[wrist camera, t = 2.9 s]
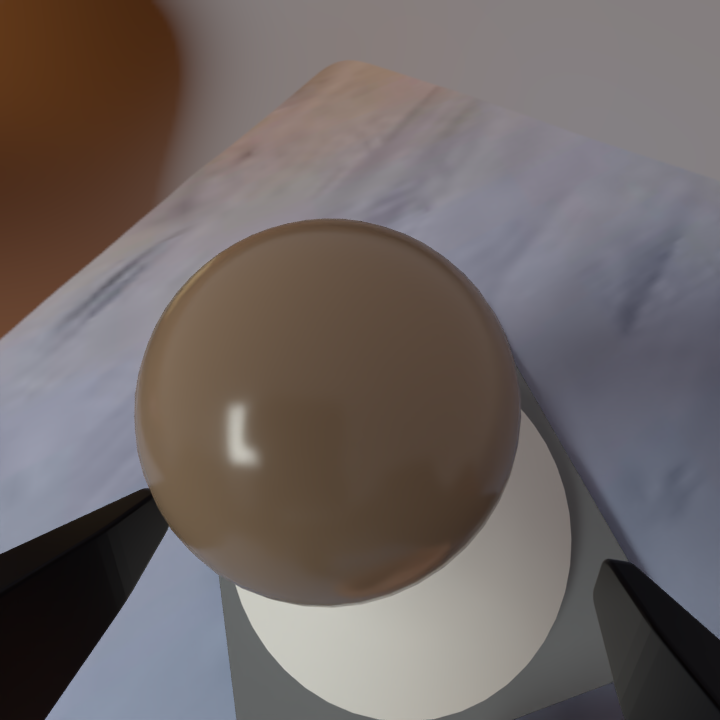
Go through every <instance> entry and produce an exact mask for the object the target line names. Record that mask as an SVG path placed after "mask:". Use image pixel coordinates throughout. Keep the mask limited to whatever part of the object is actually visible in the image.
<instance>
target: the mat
mask: <svg viewBox="0 0 720 720" xmlns="http://www.w3.org/2000/svg"><path fill="white" fill-rule="evenodd" d="M515 366H516V365H515ZM516 370H517V376H518V381H519V387H520V394H521V410H522V411H523V412H524V413H525V414H526V416H527V417H528V418H529V419H530V421H531V422H532V423H533V424H534V426H535V427H536V429H537V430H538V432H539V434H540V435H541V437H542V438H543V440H544V441H545V443H546V445H547V447H548V449H549V451H550V453H551V455H552V457H553V459H554V461H555V464H556V466H557V469H558V472H559V475H560V477H561V480H562V483H563V486H564V489H565V494H566V499H567V504H568V509H569V514H570V527H571V558H570V569H569V574H568V579H567V585H566V590H565V594H564V597H563V600H562V603H561V606H560V609H559V611H558V614H557V617H556V620H555V621H554V623H553V625H552V627H551V629H550V631H549V633H548V635H547V637H546V639H545V641H544V643H543V644H542V645H541V647H540V648H539V650H538V651H537V652H536V654H535V655H534V656H533V658H532V659H531V661H530V662H529V663H528V665H527V666H526V667H525V668H524V669H523V670H522V671H521V672H520V673H519V674H518V675H517V676H516V677H515V678H514V679H512V680H511V681H510V682H509V683H508V684H507V685H506V686H504V687H503V688H502V689H500V690H499V691H497V692H496V693H495V694H493V695H492V696H490V697H489V698H487V699H486V700H484V701H482V702H480V703H478V704H476V705H474V706H472V707H470V708H467V709H465V710H463V711H461V712H458V713H454V714H451V715H447V716H443V717H440V718H436V719H430V720H514V719H516V718H519V717H522V716H524V715H527V714H530V713H532V712H535V711H538V710H540V709H543V708H546V707H548V706H551V705H553V704H556V703H559V702H561V701H564V700H567V699H569V698H572V697H575V696H577V695H580V694H583V693H585V692H588V691H591V690H593V689H596V688H599V687H601V686H604V685H607V684H609V683H612V682H614V681H613V677H612V674H611V670H610V666H609V662H608V658H607V654H606V650H605V646H604V642H603V638H602V634H601V630H600V626H599V623H598V619H597V615H596V611H595V607H594V602H593V589H594V586H595V583H596V580H597V576H598V573H599V570H600V567H601V564H602V562H603V561H604V560H605V559H615V560H622V561H628V560H627V558H626V556H625V554H624V553H623V551H622V549H621V547H620V546H619V544H618V542H617V540H616V539H615V537H614V535H613V533H612V532H611V530H610V528H609V526H608V525H607V523H606V521H605V519H604V518H603V516H602V514H601V512H600V511H599V509H598V507H597V506H596V504H595V502H594V500H593V499H592V497H591V495H590V493H589V492H588V490H587V488H586V486H585V485H584V483H583V481H582V479H581V478H580V476H579V474H578V472H577V471H576V469H575V467H574V465H573V464H572V462H571V460H570V459H569V457H568V455H567V453H566V452H565V450H564V448H563V446H562V445H561V443H560V441H559V439H558V438H557V436H556V434H555V432H554V431H553V429H552V427H551V425H550V424H549V422H548V420H547V418H546V417H545V415H544V413H543V412H542V410H541V408H540V406H539V405H538V403H537V401H536V399H535V398H534V396H533V394H532V392H531V391H530V389H529V387H528V385H527V384H526V382H525V380H524V378H523V377H522V375H521V373H520V371H519V370H518V368H517V366H516ZM628 562H629V561H628ZM219 581H220V589H221V597H222V605H223V613H224V621H225V629H226V637H227V646H228V654H229V662H230V670H231V678H232V686H233V694H234V702H235V710H236V718H237V720H379V719H375V718H371V717H367V716H363V715H359V714H355V713H352V712H349V711H347V710H345V709H343V708H340V707H338V706H336V705H333V704H331V703H329V702H327V701H325V700H324V699H322V698H321V697H319V696H317V695H316V694H314V693H313V692H311V691H309V690H308V689H306V688H305V687H304V686H303V685H301V684H300V683H299V682H298V681H297V680H296V679H294V678H293V677H292V676H291V675H290V674H289V673H288V672H286V671H285V670H284V669H283V668H282V666H281V665H280V664H279V663H278V662H277V661H276V659H275V658H274V657H273V656H272V655H271V654H270V652H269V651H268V650H267V649H266V647H265V646H264V644H263V643H262V641H261V639H260V638H259V636H258V635H257V633H256V632H255V630H254V629H253V627H252V625H251V623H250V621H249V619H248V616H247V614H246V612H245V610H244V608H243V606H242V603H241V600H240V597H239V594H238V591H237V588H236V585H235V584H233V583H232V582H230V581H228V580H226V579H225V578H223V577H221V576H220V575H219Z"/></svg>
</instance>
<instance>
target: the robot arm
mask: <svg viewBox="0 0 720 720" xmlns="http://www.w3.org/2000/svg"><path fill="white" fill-rule="evenodd" d="M168 527H169V525H168V523H167V522H166V520H165V519H164V517H163V515H162V514H161V512H160V511H159V509H158V507H157V505H156V503H155V500H154V498H153V496H152V493H151V491H150V489H149V488H144V489H141V490H139V491H137V492H134V493H132V494H130V495H128V496H126V497H123V498H121V499H119V500H117V501H115V502H113V503H110V504H108V505H106V506H104V507H102V508H100V509H97V510H95V511H93V512H91V513H89V514H87V515H84V516H82V517H80V518H78V519H76V520H74V521H71V522H69V523H67V524H65V525H63V526H61V527H58V528H56V529H54V530H52V531H50V532H48V533H45V534H43V535H41V536H39V537H37V538H34V539H32V540H30V541H28V542H26V543H24V544H21V545H19V546H17V547H15V548H13V549H11V550H8V551H6V552H4V553H2V554H0V720H45V719H46V717H47V716H48V714H49V713H50V711H51V710H52V708H53V707H54V705H55V704H56V703H57V701H58V700H59V698H60V697H61V695H62V694H63V692H64V691H65V690H66V688H67V687H68V685H69V684H70V682H71V681H72V679H73V678H74V676H75V675H76V674H77V672H78V671H79V669H80V668H81V666H82V665H83V663H84V662H85V661H86V659H87V658H88V656H89V655H90V653H91V652H92V650H93V649H94V647H95V646H96V645H97V643H98V642H99V640H100V639H101V637H102V636H103V634H104V633H105V631H106V630H107V629H108V627H109V626H110V624H111V623H112V621H113V620H114V618H115V617H116V616H117V614H118V613H119V611H120V610H121V608H122V607H123V605H124V604H125V602H126V601H127V599H128V597H129V596H130V594H131V592H132V591H133V589H134V587H135V586H136V584H137V582H138V580H139V579H140V577H141V575H142V574H143V572H144V570H145V568H146V567H147V565H148V563H149V561H150V560H151V558H152V556H153V554H154V553H155V551H156V549H157V547H158V546H159V544H160V542H161V540H162V539H163V537H164V535H165V533H166V532H167V530H168ZM593 602H594V607H595V611H596V615H597V619H598V623H599V626H600V630H601V634H602V638H603V642H604V646H605V650H606V654H607V658H608V662H609V666H610V670H611V674H612V677H613V681H614V685H615V689H616V693H617V696H618V700H619V703H620V706H621V710H622V713H623V716H624V719H625V720H720V640H719V639H718V638H717V637H716V636H715V635H714V634H713V633H711V632H710V631H709V630H708V629H707V628H706V627H705V626H703V625H702V624H701V623H700V622H699V621H698V620H697V619H695V618H694V617H693V616H692V615H691V614H690V613H689V612H688V611H686V610H685V609H684V608H683V607H682V606H681V605H680V604H678V603H677V602H676V601H675V600H674V599H673V598H672V597H670V596H669V595H668V594H667V593H666V592H665V591H664V590H662V589H661V588H660V587H659V586H658V585H657V584H656V583H654V582H653V581H652V580H651V579H650V578H649V577H648V576H646V575H645V574H644V573H643V572H642V571H641V570H640V569H639V568H637V567H636V566H635V565H634V564H632V563H630V562H628V561H622V560H615V559H605V560H604V561H603V562H602V564H601V567H600V570H599V573H598V576H597V580H596V583H595V586H594V589H593Z"/></svg>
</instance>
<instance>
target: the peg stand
mask: <svg viewBox="0 0 720 720" xmlns="http://www.w3.org/2000/svg"><path fill="white" fill-rule="evenodd" d="M134 418H135V434H136V443H137V452H138V456H139V459H140V463H141V467H142V471H143V475H144V477H145V479H146V482H147V484H148V486H149V489H150V491H151V493H152V496H153V498H154V500H155V503H156V505H157V507H158V509H159V511H160V512H161V514H162V515H163V517H164V519H165V520H166V522H167V523H168V525H169V527H170V528H171V530H172V531H173V532H174V533H175V534H176V535H177V537H178V538H179V539H180V540H181V541H182V542H183V543H184V545H185V546H186V547H187V548H188V549H189V550H190V551H191V552H192V553H193V554H194V555H195V556H196V557H197V558H198V559H200V560H201V561H202V562H203V563H204V564H206V565H207V566H208V567H209V568H211V569H212V570H213V571H214V572H215V573H217V574H218V575H220V576H221V577H223V578H225V579H226V580H228V581H230V582H232V583H233V584H235V585H236V588H237V591H238V594H239V597H240V600H241V603H242V606H243V608H244V610H245V612H246V614H247V616H248V619H249V621H250V623H251V625H252V627H253V629H254V630H255V632H256V633H257V635H258V636H259V638H260V639H261V641H262V643H263V644H264V646H265V647H266V649H267V650H268V651H269V652H270V654H271V655H272V656H273V657H274V658H275V659H276V661H277V662H278V663H279V664H280V665H281V666H282V668H283V669H284V670H285V671H286V672H288V673H289V674H290V675H291V676H292V677H293V678H294V679H296V680H297V681H298V682H299V683H300V684H301V685H303V686H304V687H305V688H306V689H308V690H309V691H311V692H313V693H314V694H316V695H317V696H319V697H321V698H322V699H324V700H325V701H327V702H329V703H331V704H333V705H336V706H338V707H340V708H343V709H345V710H347V711H349V712H352V713H355V714H359V715H363V716H367V717H371V718H375V719H379V720H430V719H436V718H440V717H443V716H447V715H451V714H454V713H458V712H461V711H463V710H465V709H467V708H470V707H472V706H474V705H476V704H478V703H480V702H482V701H484V700H486V699H487V698H489V697H490V696H492V695H493V694H495V693H496V692H497V691H499V690H500V689H502V688H503V687H504V686H506V685H507V684H508V683H509V682H510V681H511V680H512V679H514V678H515V677H516V676H517V675H518V674H519V673H520V672H521V671H522V670H523V669H524V668H525V667H526V666H527V665H528V663H529V662H530V661H531V659H532V658H533V656H534V655H535V654H536V652H537V651H538V650H539V648H540V647H541V645H542V644H543V643H544V641H545V639H546V637H547V635H548V633H549V631H550V629H551V627H552V625H553V623H554V621H555V620H556V617H557V614H558V611H559V609H560V606H561V603H562V600H563V597H564V594H565V590H566V585H567V579H568V574H569V569H570V558H571V527H570V514H569V509H568V504H567V499H566V494H565V489H564V486H563V483H562V480H561V477H560V475H559V472H558V469H557V466H556V464H555V461H554V459H553V457H552V455H551V453H550V451H549V449H548V447H547V445H546V443H545V441H544V440H543V438H542V437H541V435H540V434H539V432H538V430H537V429H536V427H535V426H534V424H533V423H532V422H531V421H530V419H529V418H528V417H527V416H526V414H525V413H524V412H523V411H522V410H521V394H520V387H519V381H518V376H517V370H516V366H515V362H514V358H513V355H512V352H511V349H510V346H509V343H508V340H507V337H506V334H505V332H504V330H503V328H502V326H501V324H500V322H499V320H498V318H497V316H496V315H495V313H494V312H493V310H492V309H491V307H490V306H489V305H488V303H487V302H486V300H485V299H484V297H483V296H482V294H481V293H480V291H479V290H478V289H477V287H476V286H475V285H474V284H473V283H472V282H471V281H470V280H469V279H468V277H467V276H466V275H465V274H464V273H463V272H462V271H460V270H459V269H458V268H457V267H456V266H455V265H453V264H452V263H451V262H450V261H449V260H448V259H446V258H445V257H443V256H442V255H441V254H439V253H438V252H436V251H435V250H433V249H432V248H430V247H429V246H427V245H426V244H424V243H422V242H420V241H418V240H416V239H414V238H412V237H410V236H408V235H406V234H404V233H401V232H398V231H395V230H392V229H389V228H386V227H383V226H379V225H375V224H371V223H367V222H362V221H356V220H347V219H313V220H304V221H298V222H293V223H287V224H284V225H280V226H277V227H273V228H270V229H267V230H264V231H262V232H259V233H256V234H254V235H251V236H249V237H247V238H245V239H243V240H241V241H239V242H237V243H235V244H234V245H232V246H230V247H229V248H227V249H226V250H224V251H222V252H221V253H219V254H218V255H217V256H215V257H214V258H213V259H211V260H210V261H209V262H207V263H206V264H205V265H203V266H202V267H201V268H200V269H199V270H198V271H197V272H196V273H195V274H194V275H193V276H191V277H190V278H189V279H188V281H187V282H186V283H185V284H184V285H183V286H182V287H181V288H180V290H179V291H178V292H177V293H176V294H175V296H174V297H173V299H172V300H171V301H170V303H169V304H168V306H167V307H166V308H165V310H164V312H163V314H162V315H161V317H160V319H159V321H158V322H157V324H156V326H155V328H154V331H153V333H152V335H151V338H150V340H149V342H148V345H147V348H146V350H145V353H144V357H143V360H142V363H141V367H140V370H139V374H138V380H137V386H136V392H135V414H134Z"/></svg>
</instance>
